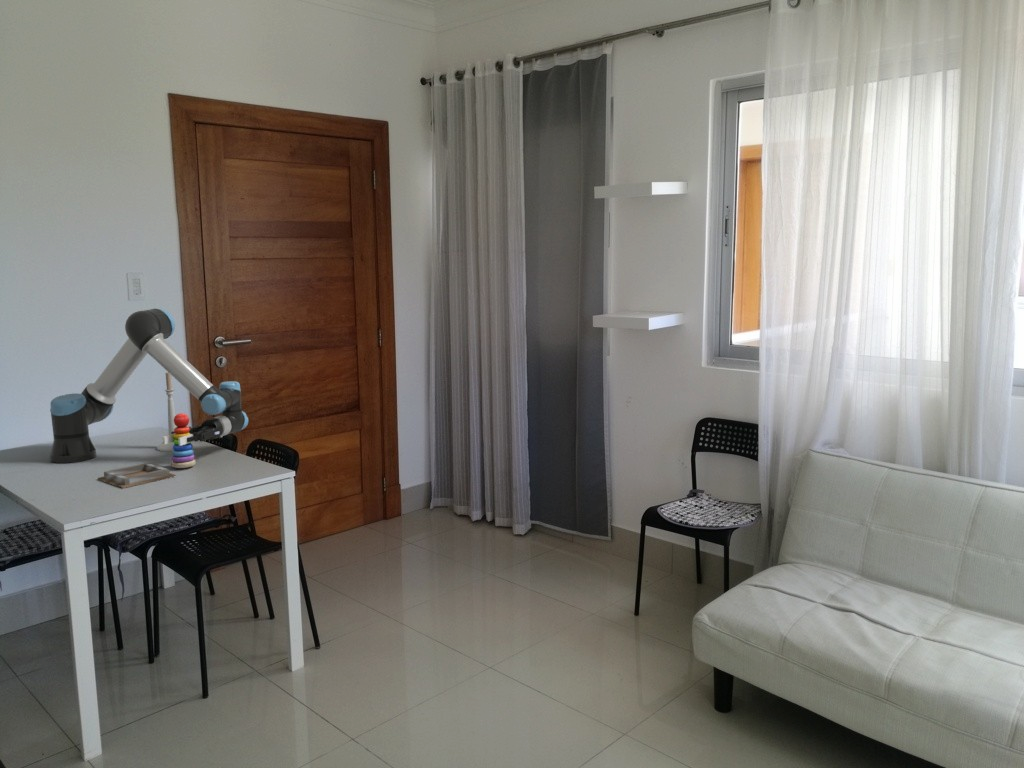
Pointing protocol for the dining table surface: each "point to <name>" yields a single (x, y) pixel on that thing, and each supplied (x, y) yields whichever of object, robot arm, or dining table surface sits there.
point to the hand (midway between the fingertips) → (171, 441)
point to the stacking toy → (184, 452)
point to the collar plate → (135, 475)
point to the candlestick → (169, 414)
